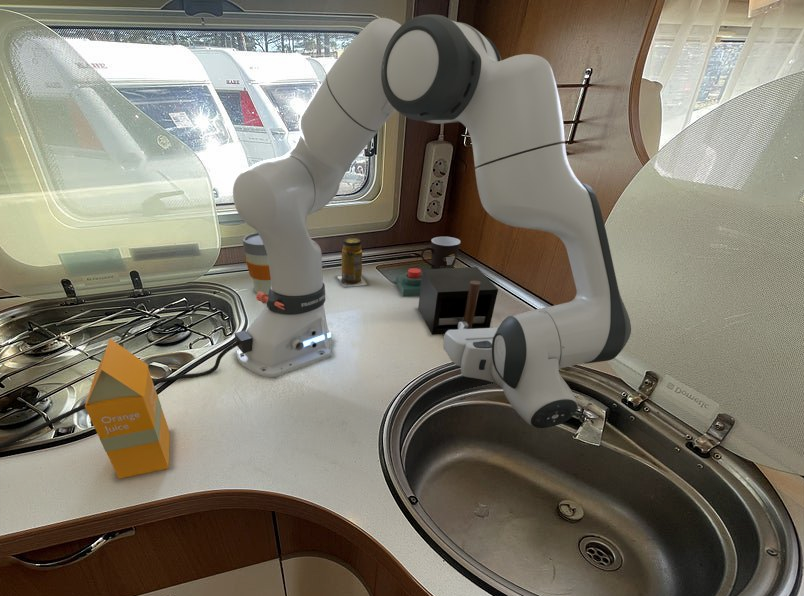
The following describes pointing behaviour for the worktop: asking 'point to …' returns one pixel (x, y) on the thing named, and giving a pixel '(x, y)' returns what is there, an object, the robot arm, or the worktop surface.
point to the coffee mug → (443, 252)
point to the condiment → (351, 263)
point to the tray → (463, 309)
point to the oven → (453, 295)
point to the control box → (408, 285)
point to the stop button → (414, 273)
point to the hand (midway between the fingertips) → (483, 323)
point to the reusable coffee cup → (257, 262)
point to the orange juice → (128, 414)
